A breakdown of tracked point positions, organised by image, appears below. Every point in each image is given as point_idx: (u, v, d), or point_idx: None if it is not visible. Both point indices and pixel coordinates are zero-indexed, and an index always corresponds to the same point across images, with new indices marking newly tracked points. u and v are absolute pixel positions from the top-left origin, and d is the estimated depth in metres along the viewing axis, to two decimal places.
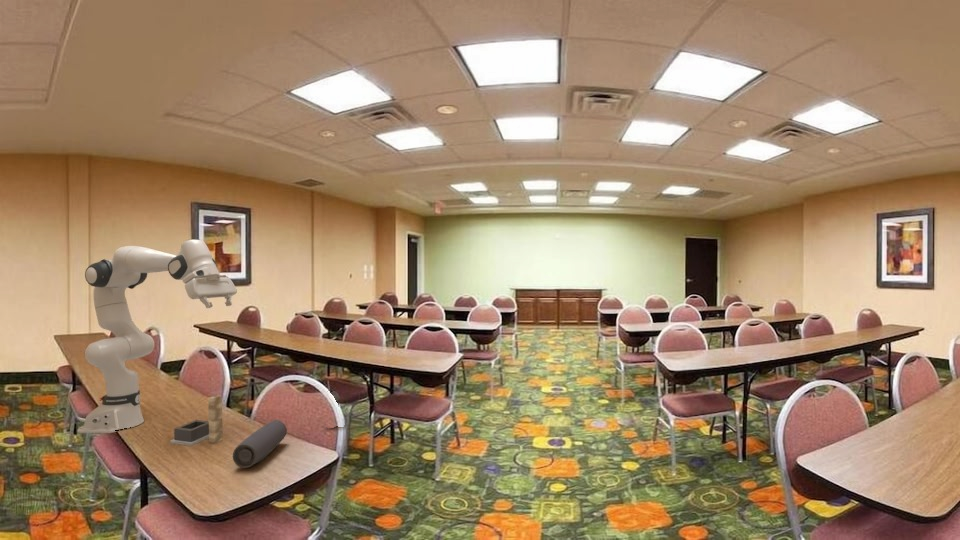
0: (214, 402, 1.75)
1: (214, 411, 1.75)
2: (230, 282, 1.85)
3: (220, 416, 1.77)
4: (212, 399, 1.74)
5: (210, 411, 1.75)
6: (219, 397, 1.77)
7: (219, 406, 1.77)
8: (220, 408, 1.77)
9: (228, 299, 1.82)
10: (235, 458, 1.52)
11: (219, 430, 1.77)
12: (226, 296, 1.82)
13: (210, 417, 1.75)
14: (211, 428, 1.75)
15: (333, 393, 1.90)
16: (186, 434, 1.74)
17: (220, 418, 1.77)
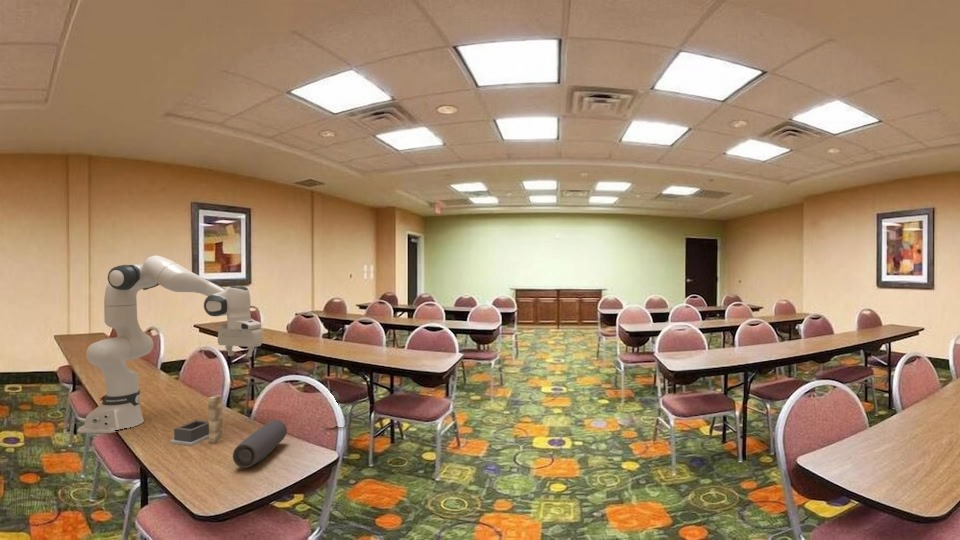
0: (214, 402, 1.75)
1: (214, 411, 1.75)
2: None
3: (220, 416, 1.77)
4: (212, 399, 1.74)
5: (210, 411, 1.75)
6: (219, 397, 1.77)
7: (219, 406, 1.77)
8: (220, 408, 1.77)
9: (230, 349, 1.90)
10: (235, 458, 1.52)
11: (219, 430, 1.77)
12: (229, 346, 1.90)
13: (210, 417, 1.75)
14: (211, 428, 1.75)
15: (333, 393, 1.90)
16: (186, 434, 1.74)
17: (220, 418, 1.77)
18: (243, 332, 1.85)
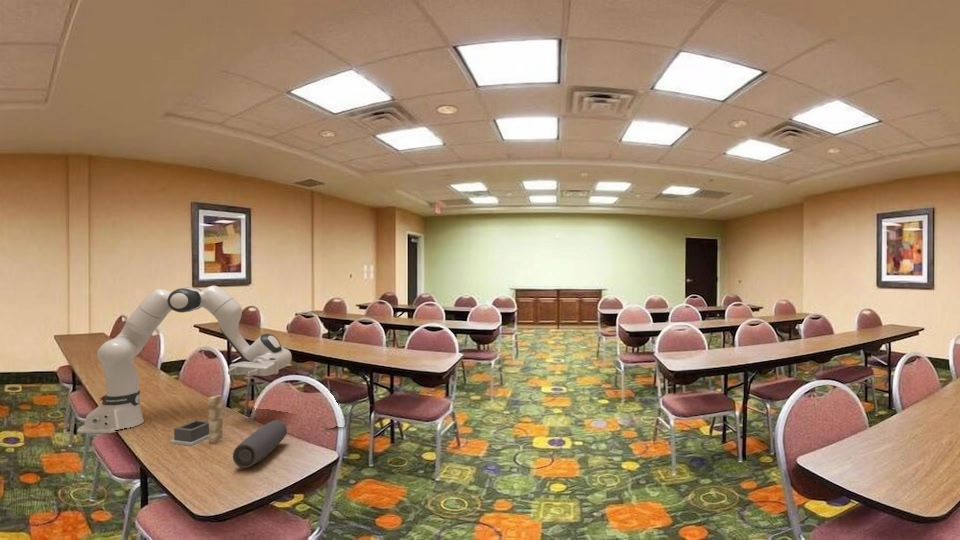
0: (214, 402, 1.75)
1: (214, 411, 1.75)
2: None
3: (220, 416, 1.77)
4: (212, 399, 1.74)
5: (210, 411, 1.75)
6: (219, 397, 1.77)
7: (219, 406, 1.77)
8: (220, 408, 1.77)
9: None
10: (235, 458, 1.52)
11: (219, 430, 1.77)
12: (236, 370, 1.93)
13: (210, 417, 1.75)
14: (211, 428, 1.75)
15: (333, 393, 1.90)
16: (186, 434, 1.74)
17: (220, 418, 1.77)
18: (265, 362, 1.97)
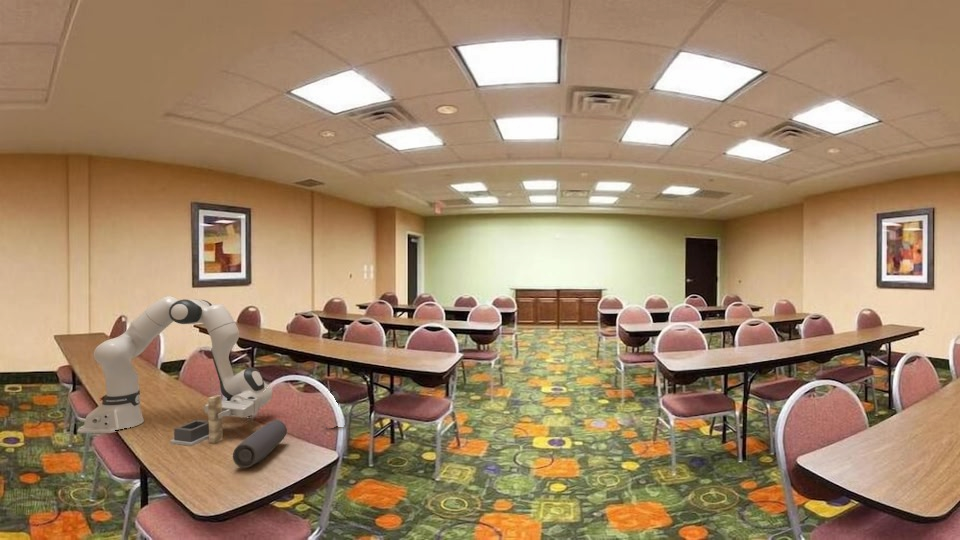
0: (214, 402, 1.75)
1: (214, 411, 1.75)
2: None
3: None
4: (212, 399, 1.74)
5: (210, 411, 1.75)
6: (219, 397, 1.77)
7: (219, 406, 1.77)
8: (220, 408, 1.77)
9: None
10: (235, 458, 1.52)
11: (219, 430, 1.77)
12: None
13: (210, 417, 1.75)
14: (211, 428, 1.75)
15: (333, 393, 1.90)
16: (186, 434, 1.74)
17: (220, 418, 1.77)
18: (244, 401, 1.85)
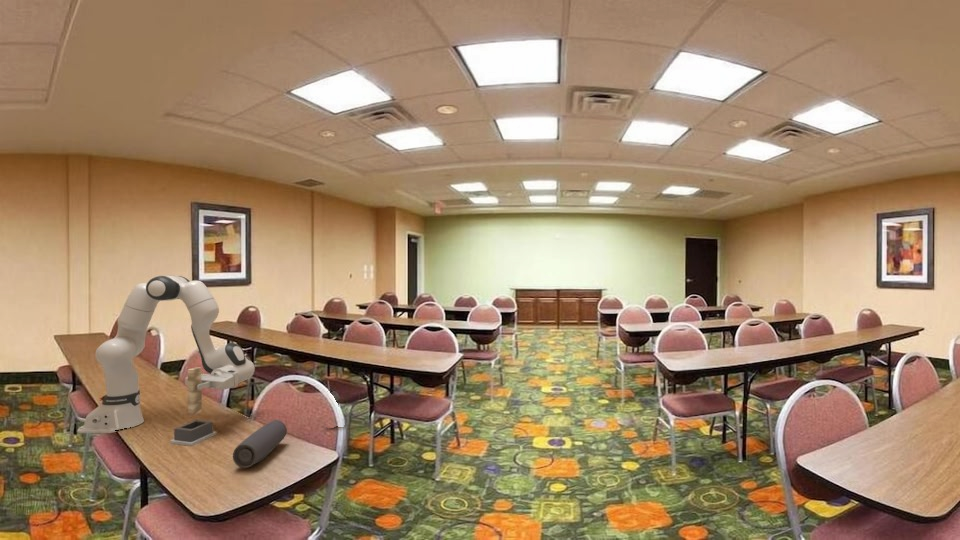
0: (193, 373, 1.77)
1: (193, 383, 1.77)
2: None
3: None
4: (191, 370, 1.76)
5: (189, 382, 1.77)
6: (198, 369, 1.79)
7: (198, 378, 1.79)
8: (199, 380, 1.80)
9: None
10: (235, 458, 1.52)
11: (198, 401, 1.79)
12: None
13: (190, 389, 1.77)
14: (190, 399, 1.77)
15: (333, 393, 1.90)
16: (186, 434, 1.74)
17: (199, 390, 1.80)
18: (224, 374, 1.87)
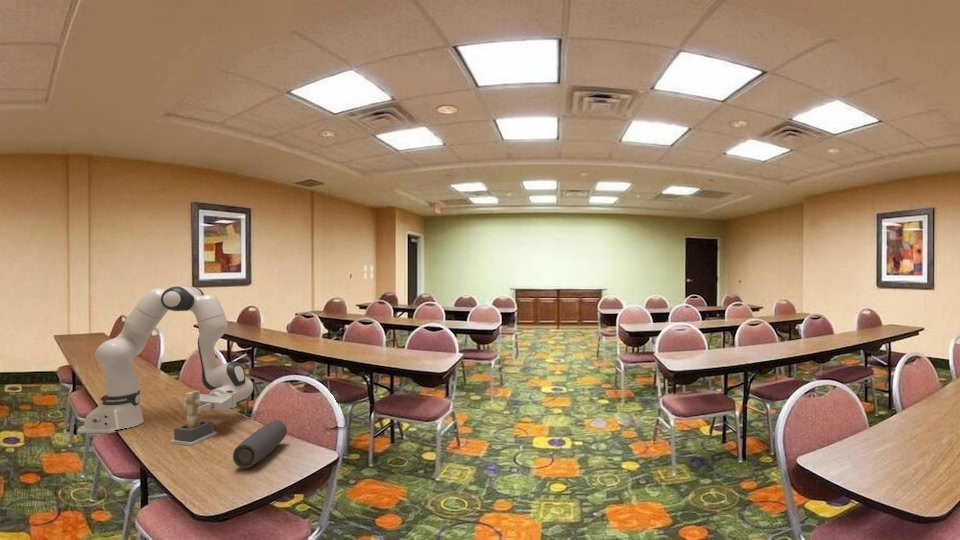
0: (191, 397, 1.77)
1: (192, 406, 1.78)
2: None
3: (198, 411, 1.80)
4: (190, 394, 1.77)
5: (188, 406, 1.78)
6: (197, 392, 1.80)
7: (197, 401, 1.80)
8: (198, 403, 1.80)
9: None
10: (235, 458, 1.52)
11: (197, 425, 1.80)
12: None
13: (188, 412, 1.78)
14: (189, 423, 1.78)
15: (333, 393, 1.90)
16: (186, 434, 1.74)
17: (198, 413, 1.80)
18: (222, 395, 1.88)
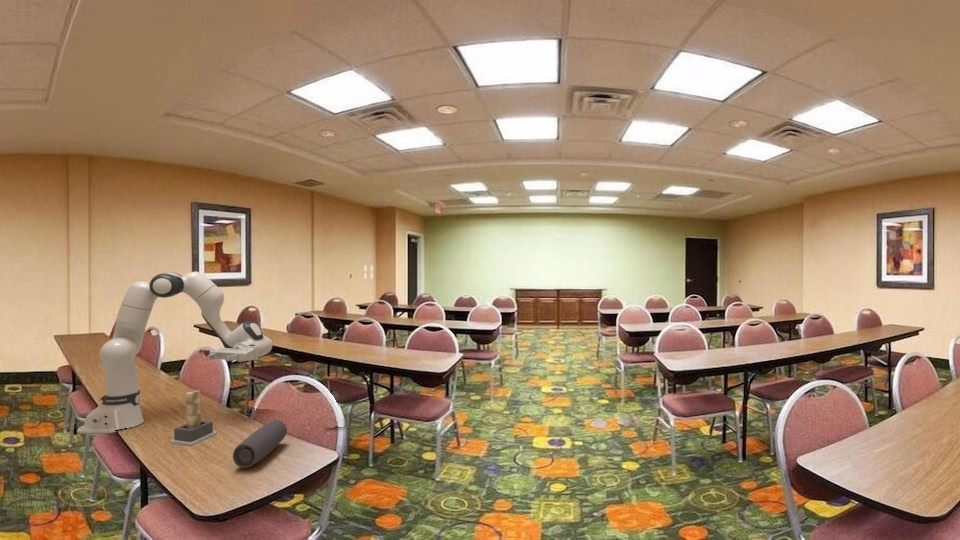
0: (191, 397, 1.77)
1: (192, 406, 1.78)
2: None
3: (198, 411, 1.80)
4: (190, 394, 1.77)
5: (188, 406, 1.78)
6: (197, 392, 1.80)
7: (197, 401, 1.80)
8: (198, 403, 1.80)
9: None
10: (235, 458, 1.52)
11: (197, 425, 1.80)
12: (215, 355, 1.96)
13: (188, 412, 1.78)
14: (189, 423, 1.78)
15: (333, 393, 1.90)
16: (186, 434, 1.74)
17: (198, 413, 1.80)
18: (245, 348, 2.00)
